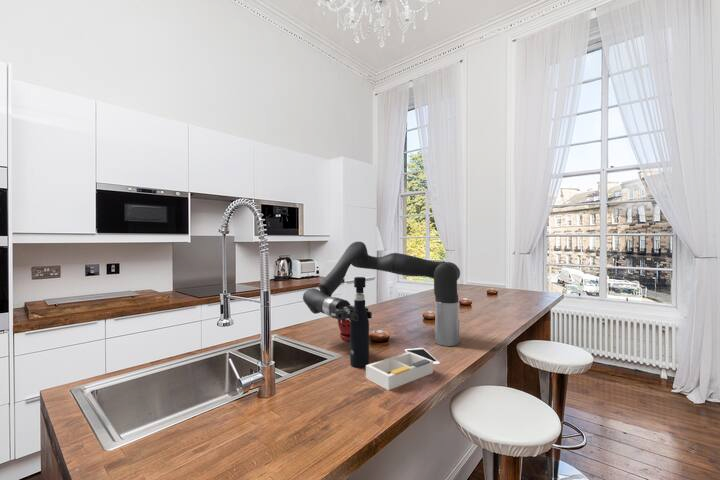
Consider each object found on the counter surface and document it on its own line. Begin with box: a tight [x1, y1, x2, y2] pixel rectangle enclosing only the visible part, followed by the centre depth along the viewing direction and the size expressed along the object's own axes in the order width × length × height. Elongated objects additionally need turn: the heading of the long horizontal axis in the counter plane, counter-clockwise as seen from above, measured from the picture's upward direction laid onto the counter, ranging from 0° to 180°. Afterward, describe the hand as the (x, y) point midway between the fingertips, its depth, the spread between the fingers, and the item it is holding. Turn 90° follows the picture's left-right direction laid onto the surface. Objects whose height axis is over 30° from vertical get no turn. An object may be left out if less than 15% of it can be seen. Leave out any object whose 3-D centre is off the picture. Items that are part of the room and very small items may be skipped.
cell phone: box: [404, 347, 441, 366], centre depth 123 cm, size 8×16×1 cm, turn 11°
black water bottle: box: [349, 276, 370, 369], centre depth 115 cm, size 6×6×30 cm
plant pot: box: [337, 319, 351, 342], centre depth 144 cm, size 13×13×12 cm
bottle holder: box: [365, 352, 434, 391], centre depth 106 cm, size 20×11×5 cm, turn 128°
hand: (364, 316), depth 113 cm, fingers closed on black water bottle, 5 cm apart
